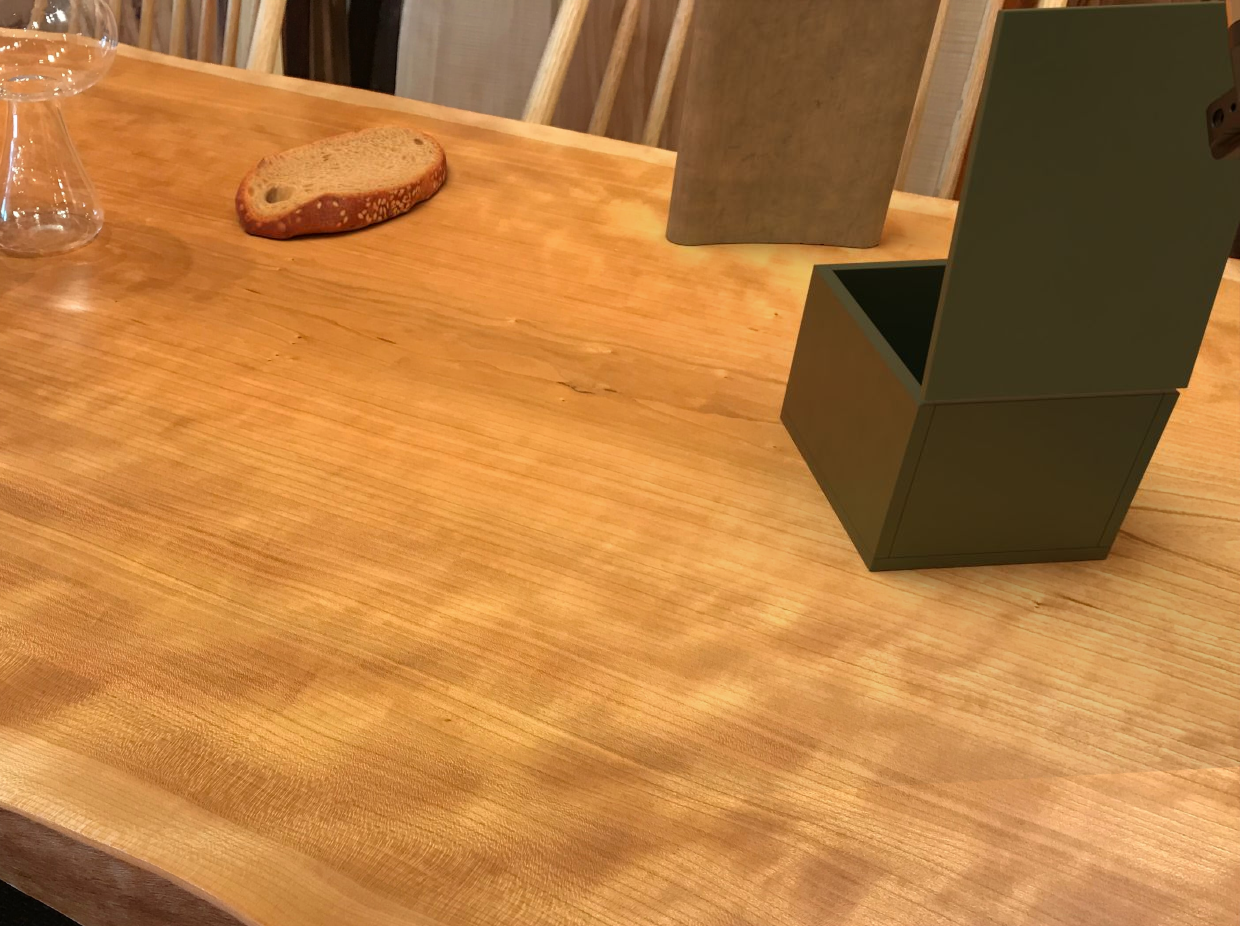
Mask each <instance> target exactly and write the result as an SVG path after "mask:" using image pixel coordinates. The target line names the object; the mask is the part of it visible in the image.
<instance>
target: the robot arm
mask: <svg viewBox="0 0 1240 926" xmlns="http://www.w3.org/2000/svg"><path fill="white" fill-rule="evenodd" d="M1223 1H1225V11H1226V21H1227V31H1228V41H1229V51H1230V59H1231V65H1232V72H1233V79H1234V85H1235V86H1234V87H1233V88H1231V89H1230V90H1229V92H1226V93H1224V94H1223V95H1222V96H1221V97H1219V98H1218V99H1216V100H1215V101H1213V102H1212V103H1211V104H1209V106H1208V108H1207V109H1206V120H1207V130H1208V140H1209V147H1211V153H1212V156H1213V158H1214V159H1216V160H1223V159H1240V0H1223Z"/></svg>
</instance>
